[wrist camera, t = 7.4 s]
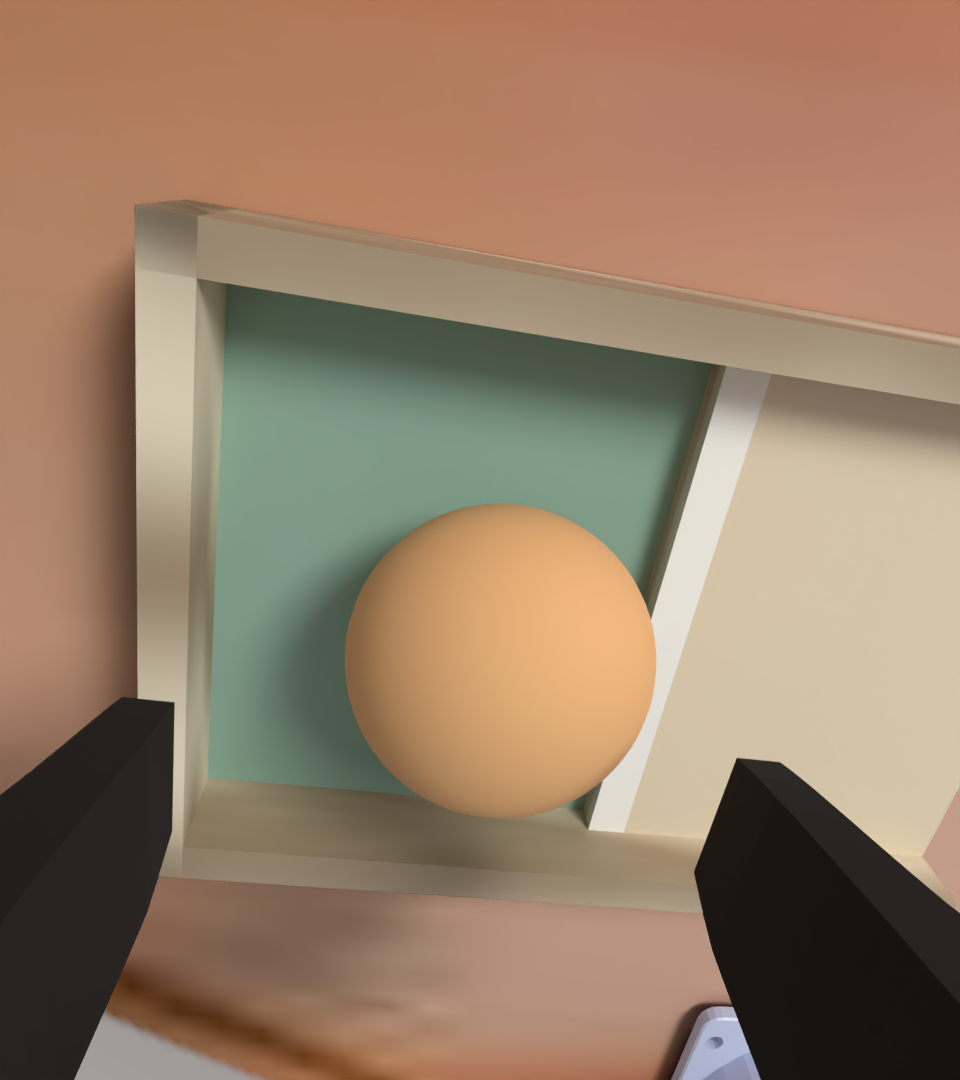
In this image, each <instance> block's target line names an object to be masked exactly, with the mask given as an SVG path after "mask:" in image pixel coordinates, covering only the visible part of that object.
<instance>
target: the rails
mask: <svg viewBox="0 0 960 1080" xmlns="http://www.w3.org/2000/svg"><path fill="white" fill-rule="evenodd" d="M227 283H228V284H234V285H240V286H246V287H252V288H258V289H264V290H270V291H276V292H282V293H288V294H294V295H300V296H306V297H312V298H318V299H324V300H330V301H337V302H343V303H349V304H355V305H361V306H367V307H373V308H379V309H385V310H391V311H397V312H403V313H409V314H415V315H421V316H427V317H433V318H439V319H445V320H451V321H458V322H464V323H470V324H476V325H482V326H488V327H494V328H500V329H506V330H512V331H518V332H524V333H530V334H536V335H542V336H548V337H554V338H560V339H566V340H572V341H578V342H585V343H591V344H597V345H603V346H609V347H615V348H621V349H627V350H633V351H639V352H645V353H651V354H657V355H663V356H669V357H675V358H681V359H687V360H693V361H699V362H706V363H712V364H718V365H724V366H730V367H736V368H742V369H748V370H754V371H760V372H766V373H772V374H778V375H784V376H790V377H796V378H802V379H808V380H814V381H820V382H827V383H833V384H839V385H845V386H851V387H857V388H863V389H869V390H875V391H881V392H887V393H893V394H899V395H905V396H911V397H917V398H923V399H929V400H935V401H941V402H947V403H954V404H960V337H955V336H949V335H944V334H938V333H933V332H927V331H921V330H916V329H910V328H904V327H899V326H893V325H888V324H882V323H876V322H871V321H865V320H859V319H854V318H848V317H843V316H837V315H831V314H826V313H820V312H815V311H809V310H803V309H798V308H792V307H786V306H781V305H775V304H770V303H764V302H758V301H753V300H747V299H741V298H736V297H730V296H725V295H719V294H713V293H708V292H702V291H696V290H691V289H685V288H680V287H674V286H668V285H663V284H657V283H651V282H646V281H640V280H635V279H629V278H623V277H618V276H612V275H606V274H601V273H595V272H590V271H584V270H578V269H573V268H567V267H561V266H556V265H550V264H545V263H539V262H533V261H528V260H522V259H516V258H511V257H505V256H500V255H494V254H488V253H483V252H477V251H471V250H466V249H460V248H455V247H449V246H443V245H438V244H432V243H426V242H421V241H415V240H410V239H404V238H398V237H393V236H387V235H382V234H376V233H370V232H365V231H359V230H353V229H348V228H342V227H337V226H331V225H325V224H320V223H314V222H308V221H303V220H297V219H292V218H286V217H280V216H275V215H269V214H263V213H258V212H252V211H247V210H241V209H235V208H230V207H224V206H218V205H213V204H207V203H202V202H196V201H190V200H179V201H168V202H157V203H145V204H135V343H136V506H137V668H138V699H146V700H156V701H167V702H175V710H174V763H173V816H172V834H171V837H170V840H169V844H168V847H167V850H166V853H165V857H164V860H163V863H162V867H161V870H160V873H159V877H172V878H187V879H202V880H217V881H231V882H246V883H261V884H276V885H291V886H306V887H320V888H335V889H350V890H365V891H380V892H395V893H410V894H424V895H439V896H454V897H469V898H484V899H499V900H513V901H528V902H543V903H558V904H573V905H588V906H602V907H617V908H632V909H647V910H662V911H677V912H692V913H703V911H702V907H701V902H700V898H699V893H698V889H697V884H696V880H695V875H694V870H695V868H696V865H697V862H698V860H699V857H700V854H701V852H702V849H703V846H704V844H705V841H706V839H700V838H688V837H675V836H663V835H651V834H638V833H626V832H624V833H622V832H609V831H597V830H588V827H587V823H586V819H585V815H584V811H583V809H572V808H560V807H559V808H556V809H554V810H551V811H547V812H544V813H540V814H536V815H532V816H526V817H520V818H508V819H499V818H482V817H476V816H471V815H467V814H463V813H459V812H455V811H451V810H449V809H446V808H444V807H441V806H439V805H437V804H435V803H433V802H431V801H428V800H426V799H425V798H423V797H422V796H417V795H405V794H393V793H382V792H370V791H358V790H346V789H334V788H322V787H310V786H298V785H286V784H275V783H263V782H251V781H239V780H227V779H215V778H207V775H208V750H209V724H210V699H211V673H212V648H213V622H214V597H215V571H216V546H217V520H218V495H219V469H220V444H221V418H222V393H223V367H224V342H225V316H226V291H227ZM890 855H891V856H892V857H893V858H894V859H896V860H897V861H898V862H899V863H900V864H901V865H903V866H904V867H905V868H906V869H907V870H908V871H910V872H911V873H912V874H913V875H914V876H915V877H917V878H918V879H919V880H920V881H921V882H923V883H924V884H925V885H926V886H927V887H928V888H930V889H931V890H932V891H933V892H934V893H936V894H937V895H938V896H939V897H940V898H942V899H943V900H944V901H945V902H946V903H948V904H949V905H950V906H951V907H953V908H955V906H956V904H957V903H956V902H955V900H954V899H953V897H952V896H951V895H950V893H949V892H948V891H947V889H946V888H945V887H944V885H943V884H942V883H941V881H940V880H939V879H938V877H937V876H936V874H935V873H934V872H933V870H932V869H931V868H930V866H929V865H928V864H927V862H926V861H925V860H924V858H923V857H922V856H911V855H899V854H890Z"/></svg>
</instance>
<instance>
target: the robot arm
mask: <svg viewBox="0 0 960 1080" xmlns="http://www.w3.org/2000/svg"><path fill="white" fill-rule="evenodd" d="M174 710H175V702H167V701H156V700H146V699H136V698H126V697H122V698H120V699H119V700H118V701H116V702H115V703H113V704H112V705H111V706H110V707H108V708H107V709H106V710H105V711H103V712H102V713H101V714H100V715H99V716H97V717H96V718H95V719H94V720H92V721H91V722H90V723H89V724H88V725H86V726H85V727H84V728H83V729H82V730H80V731H79V732H78V733H77V734H76V735H74V736H73V737H72V738H71V739H70V740H68V741H67V742H66V743H65V744H64V745H62V746H61V747H60V748H59V749H58V750H56V751H55V752H54V753H53V754H51V755H50V756H49V757H48V758H46V759H45V760H44V761H43V762H42V763H40V764H39V765H38V766H37V767H35V768H34V769H33V770H32V771H30V772H29V773H28V774H27V775H25V776H24V777H23V778H21V779H20V780H19V781H18V782H16V783H15V784H14V785H13V786H11V787H10V788H9V789H7V790H6V791H5V792H4V793H2V794H1V795H0V1080H74V1078H75V1076H76V1074H77V1072H78V1069H79V1067H80V1065H81V1063H82V1060H83V1058H84V1056H85V1054H86V1051H87V1049H88V1047H89V1045H90V1042H91V1040H92V1038H93V1035H94V1033H95V1031H96V1029H97V1026H98V1024H99V1022H100V1020H101V1017H102V1015H103V1013H104V1010H105V1008H106V1006H107V1004H108V1001H109V999H110V997H111V995H112V992H113V990H114V988H115V985H116V983H117V981H118V979H119V976H120V974H121V972H122V969H123V967H124V965H125V963H126V960H127V958H128V956H129V953H130V951H131V949H132V946H133V944H134V942H135V939H136V937H137V935H138V933H139V930H140V928H141V925H142V923H143V921H144V918H145V916H146V914H147V911H148V908H149V905H150V902H151V898H152V895H153V892H154V889H155V886H156V883H157V880H158V877H159V873H160V870H161V867H162V863H163V860H164V857H165V853H166V850H167V847H168V844H169V840H170V837H171V834H172V816H173V763H174ZM694 875H695V880H696V884H697V889H698V893H699V898H700V902H701V907H702V911H703V916H704V920H705V923H706V927H707V931H708V935H709V939H710V943H711V947H712V950H713V953H714V956H715V959H716V962H717V965H718V967H719V970H720V973H721V976H722V978H723V981H724V984H725V986H726V989H727V992H728V994H729V997H730V1000H731V1003H732V1005H733V1007H725V1006H715V1007H710V1008H707V1009H706V1010H704V1011H703V1012H701V1014H700V1015H699V1016H698V1018H697V1020H696V1023H695V1025H694V1027H693V1030H692V1032H691V1034H690V1037H689V1039H688V1041H687V1044H686V1046H685V1048H684V1051H683V1053H682V1055H681V1058H680V1060H679V1062H678V1065H677V1067H676V1069H675V1072H674V1074H673V1076H672V1079H671V1080H960V913H959V912H957V911H956V910H955V909H954V908H953V907H951V906H950V905H949V904H948V903H946V902H945V901H944V900H943V899H942V898H940V897H939V896H938V895H937V894H936V893H934V892H933V891H932V890H931V889H930V888H928V887H927V886H926V885H925V884H924V883H923V882H921V881H920V880H919V879H918V878H917V877H915V876H914V875H913V874H912V873H911V872H910V871H908V870H907V869H906V868H905V867H904V866H903V865H901V864H900V863H899V862H898V861H897V860H896V859H894V858H893V857H892V856H891V855H890V854H889V853H887V852H886V851H885V850H884V849H883V848H882V847H881V846H879V845H878V844H877V843H876V842H875V841H874V840H872V839H871V838H870V837H869V836H868V835H867V834H866V833H864V832H863V831H862V830H861V829H860V828H859V827H858V826H856V825H855V824H854V823H853V822H852V821H851V820H849V819H848V818H847V817H846V816H845V815H844V814H843V813H841V812H840V811H839V810H838V809H837V808H836V807H835V806H833V805H832V804H831V803H830V802H829V801H828V800H826V799H825V798H824V797H823V796H822V795H820V794H819V793H818V792H817V791H816V790H815V789H813V788H812V787H811V786H810V785H809V784H807V783H806V782H805V781H804V780H803V779H801V778H800V777H799V776H798V775H796V774H795V773H794V772H792V771H791V770H790V769H789V768H787V767H786V766H785V765H783V764H782V763H781V762H774V761H764V760H754V759H744V758H737V759H736V761H735V764H734V767H733V769H732V772H731V775H730V777H729V780H728V783H727V785H726V788H725V791H724V793H723V796H722V799H721V801H720V804H719V806H718V809H717V812H716V814H715V817H714V820H713V822H712V825H711V828H710V830H709V833H708V836H707V838H706V841H705V844H704V846H703V849H702V852H701V854H700V857H699V860H698V862H697V865H696V868H695V870H694Z"/></svg>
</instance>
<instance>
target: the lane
mask: <svg viewBox="0 0 960 1080" xmlns="http://www.w3.org/2000/svg"><path fill="white" fill-rule="evenodd" d="M497 503H502V504H517V505H524V506H529V507H534V508H539V509H543V510H545V511H548V512H551V513H553V514H556V515H559V516H561V517H564V518H566V519H569V520H570V521H572V522H574V523H575V524H577V525H579V526H581V527H582V528H584V529H585V530H587V531H588V532H590V533H592V534H593V535H594V536H595V537H597V538H598V539H599V540H600V541H601V542H602V543H604V544H605V545H606V546H607V547H608V548H609V549H610V550H611V551H612V552H613V553H614V554H615V555H616V556H617V558H618V559H619V560H620V561H621V562H622V564H623V565H624V566H625V568H626V569H627V570H628V572H629V573H630V575H631V576H632V578H633V579H634V581H635V583H636V585H637V587H638V589H639V591H640V593H641V595H642V597H643V599H644V601H645V604H646V607H647V610H648V612H649V615H650V619H651V623H652V627H653V632H654V638H655V645H656V677H655V685H654V691H653V697H652V701H651V705H650V708H649V711H648V714H647V717H646V719H645V722H644V724H643V726H642V729H641V731H640V733H639V735H638V737H637V739H636V741H635V742H634V744H633V746H632V747H631V749H630V750H629V752H628V753H627V754H626V756H625V757H624V759H623V760H622V761H621V762H620V763H619V764H618V766H617V767H616V768H615V769H614V770H613V771H612V772H611V773H610V774H609V775H608V776H607V777H606V778H605V779H604V780H603V781H601V782H600V783H599V784H598V785H597V786H595V787H594V788H593V789H591V790H590V791H588V792H587V793H586V794H584V795H582V796H581V797H579V798H577V799H576V800H574V801H572V802H570V803H568V804H566V805H564V806H562V807H560V808H572V809H583V811H584V815H585V819H586V823H587V827H588V830H597V831H609V832H622V833H624V832H626V833H638V834H651V835H663V836H675V837H688V838H700V839H706V838H707V836H708V833H709V830H710V828H711V825H712V822H713V820H714V817H715V814H716V812H717V809H718V806H719V804H720V801H721V799H722V796H723V793H724V791H725V788H726V785H727V783H728V780H729V777H730V775H731V772H732V769H733V767H734V764H735V761H736V759H737V758H744V759H754V760H764V761H774V762H781V763H782V764H783V765H785V766H786V767H787V768H789V769H790V770H791V771H792V772H794V773H795V774H796V775H798V776H799V777H800V778H801V779H803V780H804V781H805V782H806V783H807V784H809V785H810V786H811V787H812V788H813V789H815V790H816V791H817V792H818V793H819V794H820V795H822V796H823V797H824V798H825V799H826V800H828V801H829V802H830V803H831V804H832V805H833V806H835V807H836V808H837V809H838V810H839V811H840V812H841V813H843V814H844V815H845V816H846V817H847V818H848V819H849V820H851V821H852V822H853V823H854V824H855V825H856V826H858V827H859V828H860V829H861V830H862V831H863V832H864V833H866V834H867V835H868V836H869V837H870V838H871V839H872V840H874V841H875V842H876V843H877V844H878V845H879V846H881V847H882V848H883V849H884V850H885V851H886V852H887V853H889V854H899V855H911V856H923V854H924V852H925V850H926V848H927V846H928V844H929V843H930V841H931V839H932V837H933V835H934V833H935V831H936V830H937V828H938V826H939V824H940V822H941V820H942V818H943V816H944V815H945V813H946V811H947V809H948V807H949V805H950V803H951V802H952V800H953V798H954V796H955V794H956V792H957V790H958V788H959V787H960V404H954V403H947V402H941V401H935V400H929V399H923V398H917V397H911V396H905V395H899V394H893V393H887V392H881V391H875V390H869V389H863V388H857V387H851V386H845V385H839V384H833V383H827V382H820V381H814V380H808V379H802V378H796V377H790V376H784V375H778V374H772V373H766V372H760V371H754V370H748V369H742V368H736V367H730V366H724V365H718V364H712V363H706V362H699V361H693V360H687V359H681V358H675V357H669V356H663V355H657V354H651V353H645V352H639V351H633V350H627V349H621V348H615V347H609V346H603V345H597V344H591V343H585V342H578V341H572V340H566V339H560V338H554V337H548V336H542V335H536V334H530V333H524V332H518V331H512V330H506V329H500V328H494V327H488V326H482V325H476V324H470V323H464V322H458V321H451V320H445V319H439V318H433V317H427V316H421V315H415V314H409V313H403V312H397V311H391V310H385V309H379V308H373V307H367V306H361V305H355V304H349V303H343V302H337V301H330V300H324V299H318V298H312V297H306V296H300V295H294V294H288V293H282V292H276V291H270V290H264V289H258V288H252V287H246V286H240V285H234V284H228V283H227V291H226V316H225V342H224V367H223V393H222V418H221V444H220V469H219V495H218V520H217V546H216V571H215V597H214V622H213V648H212V673H211V699H210V724H209V750H208V775H207V778H215V779H227V780H239V781H251V782H263V783H275V784H286V785H298V786H310V787H322V788H334V789H346V790H358V791H370V792H382V793H393V794H405V795H417V796H420V795H418V794H417V793H415V792H414V791H412V790H411V789H410V788H408V787H407V786H406V785H404V784H403V783H402V782H401V781H399V780H398V779H397V778H396V777H395V776H394V775H393V774H392V773H391V772H390V771H389V770H388V769H387V768H386V767H385V766H384V765H383V763H382V762H381V761H380V760H379V758H378V757H377V756H376V754H375V753H374V752H373V750H372V749H371V747H370V746H369V744H368V742H367V741H366V739H365V737H364V735H363V733H362V731H361V729H360V727H359V725H358V723H357V721H356V718H355V715H354V712H353V709H352V706H351V703H350V699H349V696H348V689H347V683H346V674H345V647H346V636H347V631H348V626H349V621H350V618H351V615H352V612H353V609H354V606H355V603H356V601H357V598H358V596H359V594H360V592H361V590H362V588H363V585H364V583H365V582H366V580H367V579H368V577H369V575H370V574H371V572H372V571H373V569H374V568H375V566H376V565H377V564H378V563H379V562H380V560H381V559H382V558H383V557H384V555H385V554H386V553H387V552H388V551H389V550H390V549H391V548H392V547H393V546H394V545H395V544H396V543H398V542H399V541H400V540H401V539H403V538H404V537H405V536H406V535H408V534H409V533H410V532H411V531H413V530H415V529H416V528H418V527H419V526H421V525H423V524H424V523H426V522H428V521H430V520H432V519H434V518H436V517H438V516H440V515H442V514H445V513H448V512H451V511H454V510H457V509H461V508H466V507H471V506H476V505H485V504H497Z"/></svg>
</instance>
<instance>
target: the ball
mask: <svg viewBox="0 0 960 1080" xmlns="http://www.w3.org/2000/svg"><path fill="white" fill-rule="evenodd" d="M345 674H346V683H347V689H348V696H349V699H350V703H351V706H352V709H353V712H354V715H355V718H356V721H357V723H358V725H359V727H360V729H361V731H362V733H363V735H364V737H365V739H366V741H367V742H368V744H369V746H370V747H371V749H372V750H373V752H374V753H375V754H376V756H377V757H378V758H379V760H380V761H381V762H382V763H383V765H384V766H385V767H386V768H387V769H388V770H389V771H390V772H391V773H392V774H393V775H394V776H395V777H396V778H397V779H398V780H399V781H401V782H402V783H403V784H404V785H406V786H407V787H408V788H410V789H411V790H412V791H414V792H415V793H417V794H418V795H420V796H422V797H423V798H425V799H426V800H428V801H431V802H433V803H435V804H437V805H439V806H441V807H444V808H446V809H449V810H451V811H455V812H459V813H463V814H467V815H471V816H476V817H482V818H499V819H508V818H520V817H526V816H532V815H536V814H540V813H544V812H547V811H551V810H554V809H556V808H559V807H562V806H564V805H566V804H568V803H570V802H572V801H574V800H576V799H577V798H579V797H581V796H582V795H584V794H586V793H587V792H588V791H590V790H591V789H593V788H594V787H595V786H597V785H598V784H599V783H600V782H601V781H603V780H604V779H605V778H606V777H607V776H608V775H609V774H610V773H611V772H612V771H613V770H614V769H615V768H616V767H617V766H618V764H619V763H620V762H621V761H622V760H623V759H624V757H625V756H626V754H627V753H628V752H629V750H630V749H631V747H632V746H633V744H634V742H635V741H636V739H637V737H638V735H639V733H640V731H641V729H642V726H643V724H644V722H645V719H646V717H647V714H648V711H649V708H650V705H651V701H652V697H653V691H654V685H655V677H656V645H655V638H654V632H653V627H652V623H651V619H650V615H649V612H648V610H647V607H646V604H645V601H644V599H643V597H642V595H641V593H640V591H639V589H638V587H637V585H636V583H635V581H634V579H633V578H632V576H631V575H630V573H629V572H628V570H627V569H626V568H625V566H624V565H623V564H622V562H621V561H620V560H619V559H618V558H617V556H616V555H615V554H614V553H613V552H612V551H611V550H610V549H609V548H608V547H607V546H606V545H605V544H604V543H602V542H601V541H600V540H599V539H598V538H597V537H595V536H594V535H593V534H592V533H590V532H588V531H587V530H585V529H584V528H582V527H581V526H579V525H577V524H575V523H574V522H572V521H570V520H569V519H566V518H564V517H561V516H559V515H556V514H553V513H551V512H548V511H545V510H543V509H539V508H534V507H529V506H524V505H517V504H502V503H497V504H485V505H476V506H471V507H466V508H461V509H457V510H454V511H451V512H448V513H445V514H442V515H440V516H438V517H436V518H434V519H432V520H430V521H428V522H426V523H424V524H423V525H421V526H419V527H418V528H416V529H415V530H413V531H411V532H410V533H409V534H408V535H406V536H405V537H404V538H403V539H401V540H400V541H399V542H398V543H396V544H395V545H394V546H393V547H392V548H391V549H390V550H389V551H388V552H387V553H386V554H385V555H384V557H383V558H382V559H381V560H380V562H379V563H378V564H377V565H376V566H375V568H374V569H373V571H372V572H371V574H370V575H369V577H368V579H367V580H366V582H365V583H364V585H363V588H362V590H361V592H360V594H359V596H358V598H357V601H356V603H355V606H354V609H353V612H352V615H351V618H350V621H349V626H348V631H347V636H346V647H345Z"/></svg>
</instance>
